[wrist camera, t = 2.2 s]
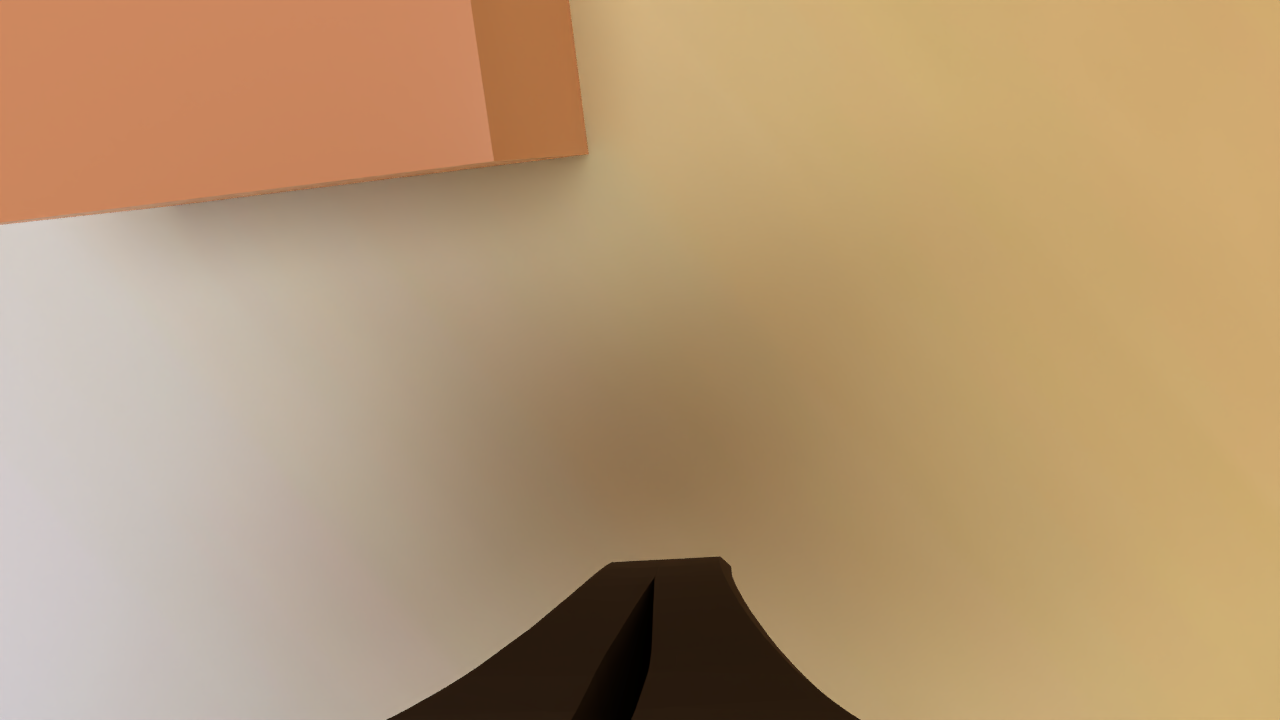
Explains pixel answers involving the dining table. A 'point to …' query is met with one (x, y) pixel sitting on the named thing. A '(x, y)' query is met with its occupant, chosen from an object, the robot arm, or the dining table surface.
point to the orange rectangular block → (271, 96)
